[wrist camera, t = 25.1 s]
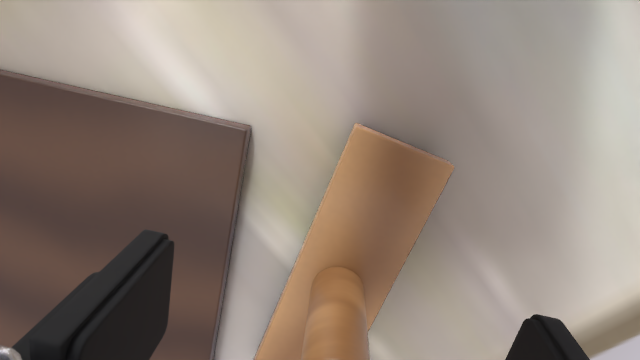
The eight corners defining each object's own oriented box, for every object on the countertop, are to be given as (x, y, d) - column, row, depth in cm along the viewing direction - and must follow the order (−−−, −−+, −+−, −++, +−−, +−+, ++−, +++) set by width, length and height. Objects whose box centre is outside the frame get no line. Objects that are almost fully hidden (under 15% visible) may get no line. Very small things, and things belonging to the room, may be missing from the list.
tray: (-110, 44, 18) (-135, 43, 17) (252, 125, 19) (246, 129, 18) (-70, 421, 25) (-86, 435, 24) (194, 478, 25) (188, 495, 24)
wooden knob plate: (252, 357, 22) (204, 513, 15) (354, 118, 18) (361, 162, 11) (325, 384, 23) (315, 551, 15) (442, 154, 18) (512, 223, 11)
